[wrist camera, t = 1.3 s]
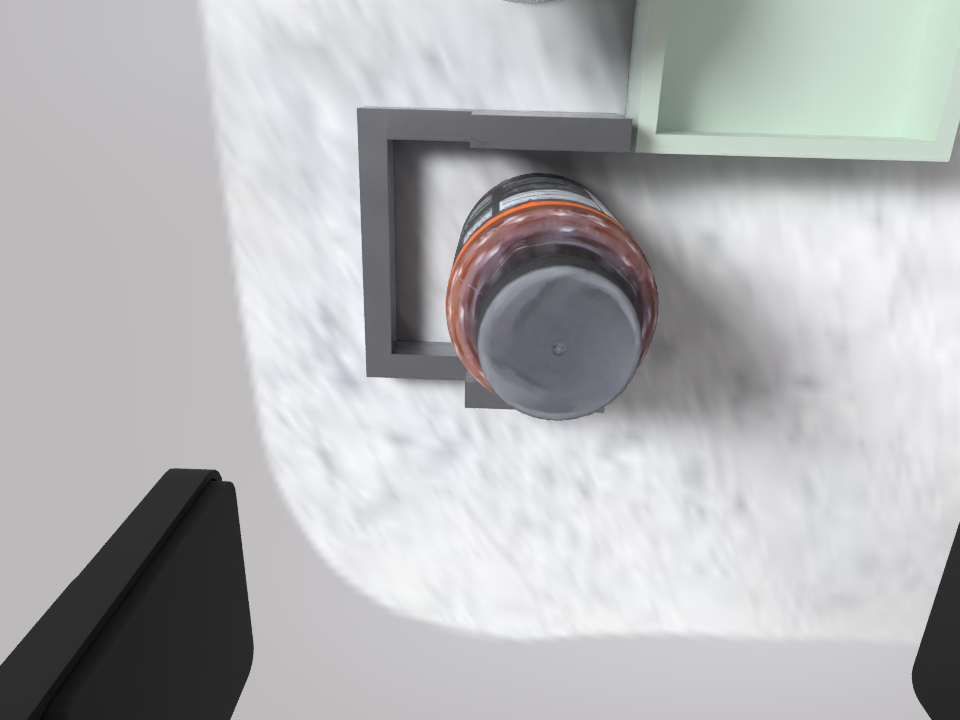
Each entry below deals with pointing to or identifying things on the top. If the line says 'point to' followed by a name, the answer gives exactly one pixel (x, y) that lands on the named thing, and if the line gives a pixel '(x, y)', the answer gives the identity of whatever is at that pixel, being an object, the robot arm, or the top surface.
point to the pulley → (527, 1)
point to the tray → (796, 78)
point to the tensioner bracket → (379, 219)
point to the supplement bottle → (549, 298)
